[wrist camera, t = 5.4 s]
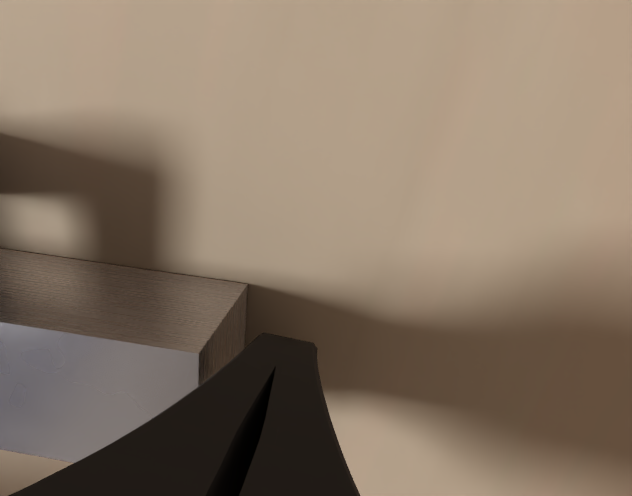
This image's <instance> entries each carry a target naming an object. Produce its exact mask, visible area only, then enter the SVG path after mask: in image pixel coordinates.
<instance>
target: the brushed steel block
mask: <svg viewBox="0 0 632 496" xmlns="http://www.w3.org/2000/svg"><path fill="white" fill-rule="evenodd" d="M247 289H248V284H243V283H236V282H230V281H223V280H216V279H209V278H202V277H195V276H188V275H181V274H174V273H167V272H160V271H153V270H146V269H140V268H133V267H126V266H119V265H112V264H105V263H98V262H91V261H84V260H77V259H70V258H63V257H56V256H50V255H43V254H36V253H29V252H22V251H15V250H8V249H1V248H0V449H1V450H7V451H12V452H18V453H23V454H29V455H34V456H39V457H45V458H50V459H56V460H61V461H66V462H72V463H76V462H78V461H80V460H81V459H83V458H85V457H87V456H89V455H91V454H93V453H94V452H96V451H98V450H100V449H102V448H104V447H106V446H107V445H109V444H111V443H113V442H114V441H116V440H118V439H119V438H121V437H123V436H124V435H126V434H128V433H129V432H131V431H133V430H135V429H136V428H138V427H139V426H141V425H143V424H144V423H146V422H147V421H149V420H151V419H152V418H154V417H155V416H157V415H158V414H160V413H161V412H163V411H164V410H166V409H167V408H169V407H170V406H172V405H173V404H174V403H176V402H177V401H179V400H180V399H181V398H183V397H184V396H186V395H187V394H188V393H190V392H191V391H193V390H194V389H196V388H197V387H198V386H200V385H201V384H202V383H204V382H205V381H206V380H207V379H209V378H210V377H211V376H212V375H214V374H215V373H216V372H217V371H219V370H220V369H221V368H222V367H224V366H225V365H226V364H227V363H229V362H230V361H231V360H232V359H233V358H234V357H236V356H237V355H238V354H239V353H240V352H241V351H243V350H244V345H245V326H246V308H247Z"/></svg>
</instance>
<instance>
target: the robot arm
mask: <svg viewBox="0 0 632 496" xmlns="http://www.w3.org/2000/svg"><path fill="white" fill-rule="evenodd" d="M9 496H360V494H359V492H358V490H357V487H356V485H355V483H354V481H353V478H352V476H351V474H350V471H349V469H348V466H347V464H346V461H345V459H344V456H343V453H342V451H341V448H340V445H339V442H338V440H337V437H336V434H335V431H334V428H333V425H332V422H331V419H330V416H329V412H328V408H327V405H326V401H325V398H324V394H323V390H322V386H321V381H320V376H319V371H318V364H317V348H316V346H315V345H314V343H311V342H306V341H301V340H296V339H291V338H287V337H282V336H277V335H272V334H267V333H263V334H261V335H259V336H258V337H257V338H256V339H255V340H254V341H252V342H251V343H250V344H249V345H248V346H247V347H246V348H245V349H244V350H243V351H241V352H240V353H239V354H238V355H237V356H236V357H234V358H233V359H232V360H231V361H230V362H229V363H227V364H226V365H225V366H224V367H222V368H221V369H220V370H219V371H217V372H216V373H215V374H214V375H212V376H211V377H210V378H209V379H207V380H206V381H205V382H204V383H202V384H201V385H200V386H198V387H197V388H196V389H194V390H193V391H191V392H190V393H188V394H187V395H186V396H184V397H183V398H181V399H180V400H179V401H177V402H176V403H174V404H173V405H172V406H170V407H169V408H167V409H166V410H164V411H163V412H161V413H160V414H158V415H157V416H155V417H154V418H152V419H151V420H149V421H147V422H146V423H144V424H143V425H141V426H139V427H138V428H136V429H135V430H133V431H131V432H129V433H128V434H126V435H124V436H123V437H121V438H119V439H118V440H116V441H114V442H113V443H111V444H109V445H107V446H106V447H104V448H102V449H100V450H98V451H96V452H94V453H93V454H91V455H89V456H87V457H85V458H83V459H81V460H80V461H78V462H76V463H74V464H72V465H70V466H68V467H66V468H64V469H62V470H60V471H58V472H56V473H54V474H52V475H50V476H48V477H46V478H44V479H42V480H40V481H38V482H37V483H35V484H33V485H30V486H28V487H26V488H24V489H22V490H20V491H18V492H16V493H13V494H11V495H9Z"/></svg>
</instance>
